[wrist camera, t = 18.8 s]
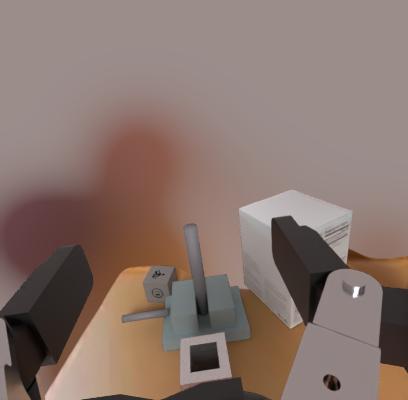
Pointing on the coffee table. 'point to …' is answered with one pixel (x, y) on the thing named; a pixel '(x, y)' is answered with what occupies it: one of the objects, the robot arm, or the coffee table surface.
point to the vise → (199, 304)
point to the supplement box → (262, 244)
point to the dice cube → (159, 283)
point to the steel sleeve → (203, 360)
